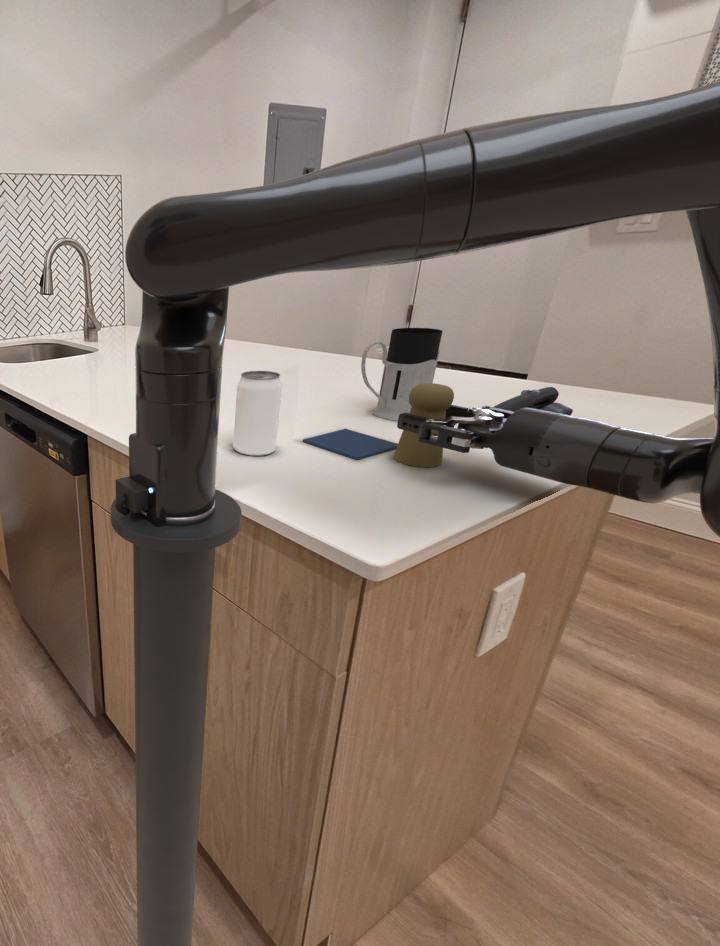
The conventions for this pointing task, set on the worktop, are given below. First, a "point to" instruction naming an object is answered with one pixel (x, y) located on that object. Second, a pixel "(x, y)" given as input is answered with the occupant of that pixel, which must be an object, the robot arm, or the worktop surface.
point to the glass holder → (404, 368)
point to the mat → (351, 443)
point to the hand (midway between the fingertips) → (419, 415)
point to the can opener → (536, 401)
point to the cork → (427, 404)
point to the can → (257, 413)
